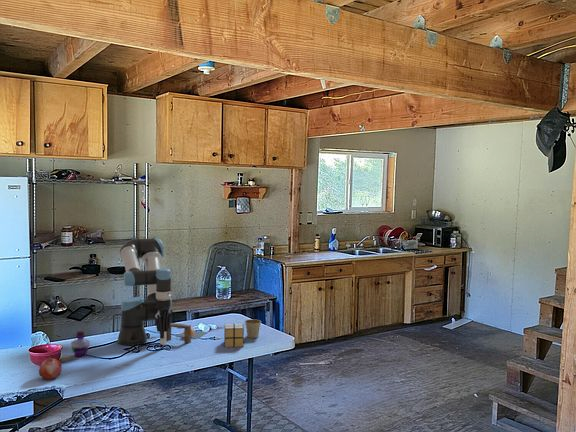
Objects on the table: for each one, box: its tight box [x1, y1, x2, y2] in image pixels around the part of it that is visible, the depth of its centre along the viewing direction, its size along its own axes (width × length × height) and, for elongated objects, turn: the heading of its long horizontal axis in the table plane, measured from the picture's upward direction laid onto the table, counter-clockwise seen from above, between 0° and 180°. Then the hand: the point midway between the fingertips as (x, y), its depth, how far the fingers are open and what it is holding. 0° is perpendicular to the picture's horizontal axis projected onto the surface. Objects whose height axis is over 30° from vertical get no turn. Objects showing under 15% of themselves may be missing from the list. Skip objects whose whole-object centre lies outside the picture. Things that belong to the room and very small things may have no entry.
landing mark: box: [176, 330, 208, 340], centre depth 288 cm, size 13×13×1 cm
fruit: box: [38, 355, 63, 381], centre depth 220 cm, size 9×10×10 cm
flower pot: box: [244, 318, 262, 339], centre depth 285 cm, size 9×9×9 cm
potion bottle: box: [70, 330, 91, 358], centre depth 249 cm, size 9×9×12 cm
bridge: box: [166, 322, 192, 345], centre depth 274 cm, size 3×14×9 cm, turn 68°
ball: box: [183, 327, 195, 336], centre depth 283 cm, size 6×6×6 cm
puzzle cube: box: [223, 323, 245, 348], centre depth 271 cm, size 10×10×10 cm
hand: (163, 343), depth 263 cm, fingers closed
